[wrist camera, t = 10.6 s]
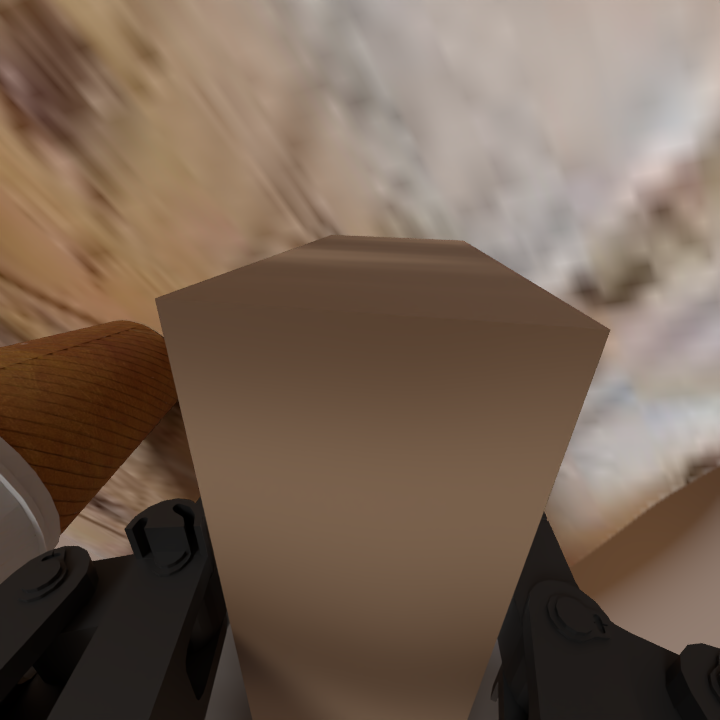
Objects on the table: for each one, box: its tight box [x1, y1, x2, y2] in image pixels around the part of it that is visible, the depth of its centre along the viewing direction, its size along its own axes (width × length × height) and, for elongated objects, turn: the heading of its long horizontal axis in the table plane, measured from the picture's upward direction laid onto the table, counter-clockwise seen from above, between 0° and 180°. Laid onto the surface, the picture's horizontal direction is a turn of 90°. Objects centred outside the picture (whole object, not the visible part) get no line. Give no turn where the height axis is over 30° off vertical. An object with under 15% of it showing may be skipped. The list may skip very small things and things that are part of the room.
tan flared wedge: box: [155, 235, 610, 720], centre depth 9 cm, size 13×9×8 cm
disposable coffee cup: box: [0, 320, 178, 584], centre depth 16 cm, size 10×10×12 cm
